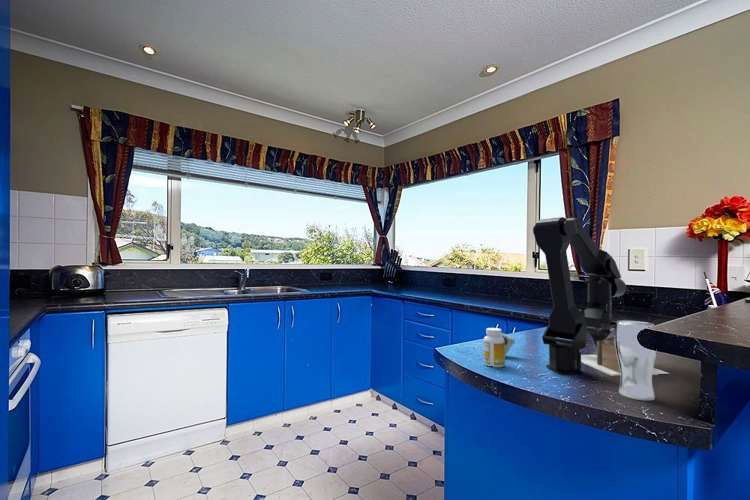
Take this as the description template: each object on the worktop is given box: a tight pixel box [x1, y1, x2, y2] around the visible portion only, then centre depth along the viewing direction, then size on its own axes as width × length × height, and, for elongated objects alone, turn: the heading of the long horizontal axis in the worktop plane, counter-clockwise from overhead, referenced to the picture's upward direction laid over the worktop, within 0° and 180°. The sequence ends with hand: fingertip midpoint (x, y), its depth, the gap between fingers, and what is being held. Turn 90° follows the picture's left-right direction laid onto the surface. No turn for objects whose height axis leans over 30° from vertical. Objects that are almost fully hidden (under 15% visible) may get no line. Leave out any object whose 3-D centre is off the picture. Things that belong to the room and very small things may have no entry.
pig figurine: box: [501, 332, 516, 356], centre depth 105 cm, size 8×4×7 cm, turn 82°
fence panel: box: [603, 336, 615, 346], centre depth 98 cm, size 10×2×6 cm, turn 128°
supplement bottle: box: [483, 327, 506, 368], centre depth 96 cm, size 5×5×10 cm
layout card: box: [581, 354, 670, 377], centre depth 95 cm, size 14×18×1 cm
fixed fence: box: [596, 341, 620, 373], centre depth 89 cm, size 2×11×7 cm, turn 3°
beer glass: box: [614, 320, 657, 402], centre depth 74 cm, size 7×7×15 cm
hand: (599, 352), depth 102 cm, fingers closed
